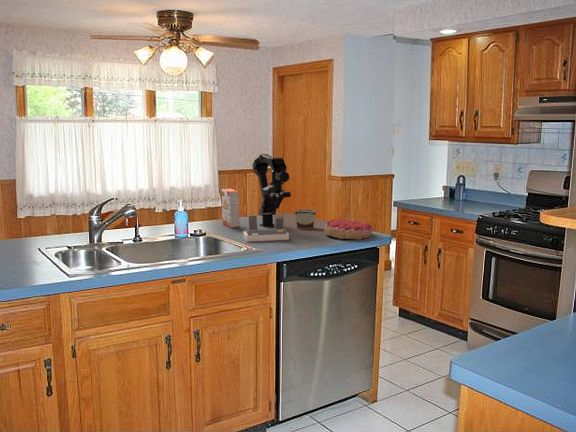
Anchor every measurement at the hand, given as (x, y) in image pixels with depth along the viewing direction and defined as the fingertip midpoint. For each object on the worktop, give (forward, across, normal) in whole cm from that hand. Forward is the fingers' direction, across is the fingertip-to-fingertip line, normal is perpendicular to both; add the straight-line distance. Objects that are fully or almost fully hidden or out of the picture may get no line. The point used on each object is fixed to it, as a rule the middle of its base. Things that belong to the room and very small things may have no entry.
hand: (277, 208), depth 302 cm
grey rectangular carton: (+9, +17, -12) cm, 22 cm away
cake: (+12, +34, +21) cm, 42 cm away
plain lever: (+9, +12, -23) cm, 28 cm away
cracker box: (+12, -27, -14) cm, 33 cm away
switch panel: (+12, +14, -18) cm, 26 cm away
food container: (+12, +4, +17) cm, 21 cm away
